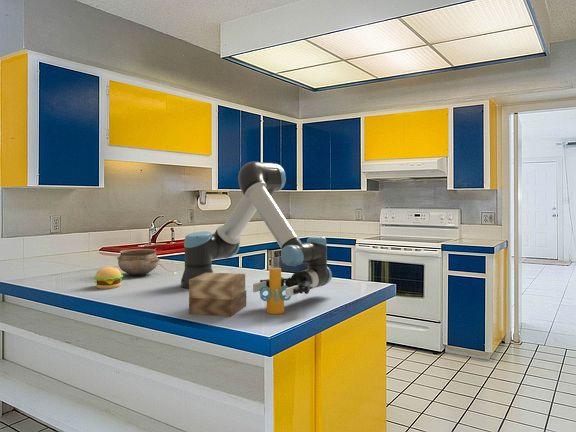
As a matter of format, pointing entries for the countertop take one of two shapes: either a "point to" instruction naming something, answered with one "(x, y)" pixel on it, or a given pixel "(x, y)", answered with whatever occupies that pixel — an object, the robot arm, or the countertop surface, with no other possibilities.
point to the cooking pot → (138, 261)
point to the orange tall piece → (274, 292)
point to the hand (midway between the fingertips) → (269, 290)
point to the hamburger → (108, 278)
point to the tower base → (217, 306)
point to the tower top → (217, 285)
